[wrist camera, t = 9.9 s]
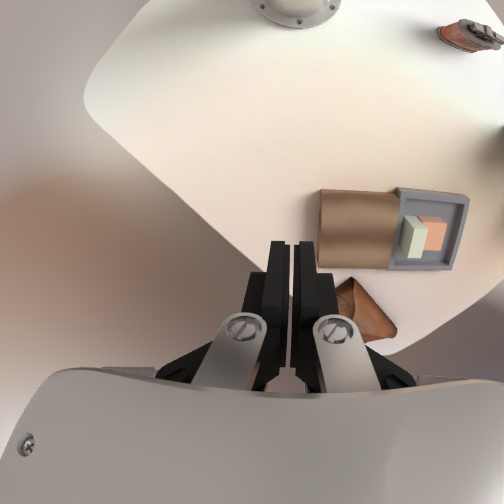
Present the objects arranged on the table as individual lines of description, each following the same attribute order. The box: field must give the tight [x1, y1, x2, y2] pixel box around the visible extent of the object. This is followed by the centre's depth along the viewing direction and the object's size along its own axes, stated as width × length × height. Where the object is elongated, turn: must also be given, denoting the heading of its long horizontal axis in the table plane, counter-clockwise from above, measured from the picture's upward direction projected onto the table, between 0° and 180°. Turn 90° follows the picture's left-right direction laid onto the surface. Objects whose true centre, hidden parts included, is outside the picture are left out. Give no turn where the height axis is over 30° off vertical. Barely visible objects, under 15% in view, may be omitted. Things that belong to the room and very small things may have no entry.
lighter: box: [437, 19, 504, 53], centre depth 19 cm, size 8×3×10 cm, turn 92°
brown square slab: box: [317, 189, 401, 269], centre depth 41 cm, size 12×12×3 cm
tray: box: [387, 187, 470, 270], centre depth 40 cm, size 14×14×2 cm
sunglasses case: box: [335, 277, 397, 343], centre depth 50 cm, size 18×7×7 cm
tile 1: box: [417, 216, 447, 251], centre depth 39 cm, size 5×5×2 cm
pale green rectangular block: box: [398, 215, 428, 258], centre depth 39 cm, size 5×5×2 cm
